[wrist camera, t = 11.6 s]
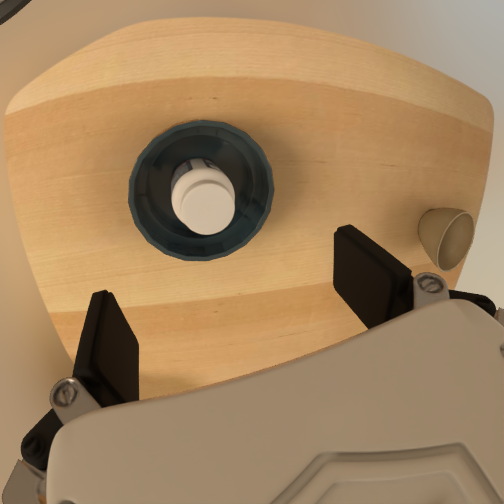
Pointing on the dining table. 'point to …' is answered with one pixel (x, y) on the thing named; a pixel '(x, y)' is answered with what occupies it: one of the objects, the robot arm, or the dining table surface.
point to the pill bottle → (202, 196)
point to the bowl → (231, 164)
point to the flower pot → (446, 236)
